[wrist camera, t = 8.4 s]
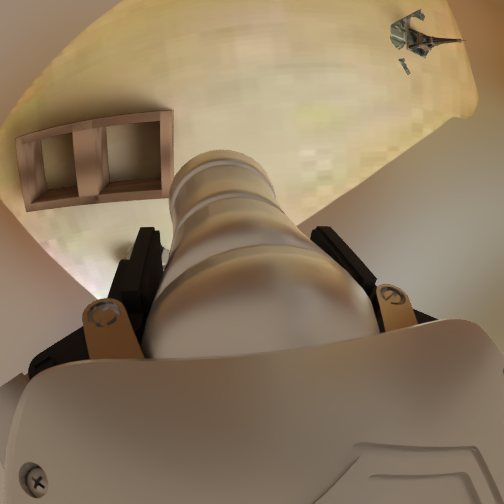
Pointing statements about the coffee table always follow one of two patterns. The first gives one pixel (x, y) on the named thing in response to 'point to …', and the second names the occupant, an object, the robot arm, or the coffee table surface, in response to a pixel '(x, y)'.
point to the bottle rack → (92, 164)
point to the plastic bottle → (245, 271)
